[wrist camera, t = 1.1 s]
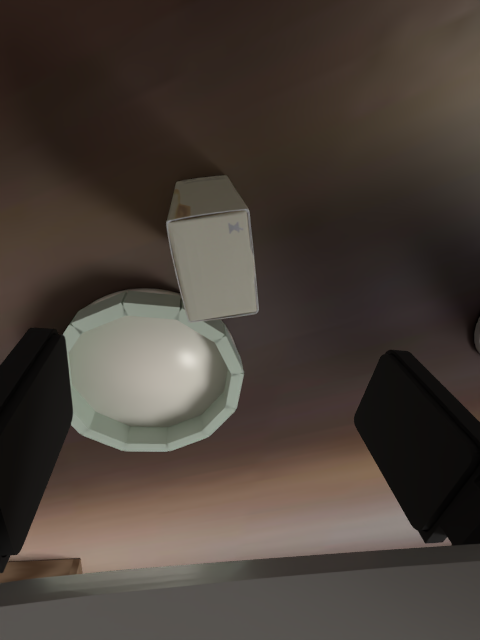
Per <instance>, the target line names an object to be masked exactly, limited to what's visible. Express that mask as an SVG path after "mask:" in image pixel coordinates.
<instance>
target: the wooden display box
mask: <svg viewBox="0 0 480 640" xmlns="http://www.w3.org/2000/svg"><path fill="white" fill-rule="evenodd" d="M75 574H82V566H81V559H63V560H41V561H19V562H7V565H6V567H5V570H4V572H3V573H0V583H5V582H12V581H19V580H26V579H33V578H44V577H54V576H64V575H75Z"/></svg>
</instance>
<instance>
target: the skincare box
mask: <svg viewBox="0 0 480 640" xmlns="http://www.w3.org/2000/svg"><path fill="white" fill-rule="evenodd" d="M166 228H167V234H168V240H169V245H170V251H171V255H172V260H173V265H174V269H175V273H176V277H177V281H178V285H179V289H180V293H181V297H182V301H183V304H184V308H185V312H186V315H187V319H188V322H190V323H193V322H200V321H209V320H218V319H225V318H232V317H240V316H247V315H253V314H256V313H258V311H259V306H258V293H257V282H256V271H255V261H254V251H253V241H252V231H251V223H250V212H249V209H248V207H247V206H246V204H245V203H244V201H243V200H242V198H241V196H240V195H239V194H238V192H237V191H236V189H235V187H234V186H233V184H232V183H231V181H230V180H229V178H228V177H227V175H222V176H212V177H203V178H195V179H189V180H183V181H178V182H176V185H175V189H174V193H173V197H172V202H171V206H170V210H169V214H168V218H167V221H166Z"/></svg>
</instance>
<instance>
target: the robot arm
mask: <svg viewBox="0 0 480 640" xmlns="http://www.w3.org/2000/svg"><path fill="white" fill-rule="evenodd" d="M474 342H475V346H476V349H477V350H478V352H479V354H480V317H479V319H478V322H477V324H476V328H475V333H474ZM72 418H73V405H72V395H71V386H70V376H69V367H68V358H67V348H66V340H65V336H64V335H58V332H57V330H56V329H45V328H30V329H29V330H28V331H27V332H26V334H25V335H24V336H23V337H22V339H21V340H20V341H19V342H18V344H17V345H16V346H15V347H14V349H13V350H12V351H11V352H10V354H9V355H8V356H7V358H6V359H5V360H4V361H3V363H2V364H1V365H0V573H3V572H4V570H5V567H6V565H7V562H8V560H9V558H10V555H17V554H18V553H19V552H20V550H21V549H22V546H23V544H24V542H25V539H26V537H27V534H28V531H29V529H30V526H31V524H32V521H33V519H34V516H35V514H36V511H37V509H38V506H39V504H40V501H41V499H42V496H43V494H44V491H45V488H46V486H47V483H48V481H49V478H50V476H51V473H52V471H53V468H54V466H55V463H56V461H57V458H58V456H59V453H60V451H61V448H62V445H63V443H64V440H65V438H66V435H67V433H68V430H69V428H70V425H71V422H72ZM354 423H355V426H356V428H357V430H358V432H359V434H360V435H361V437H362V439H363V441H364V442H365V444H366V446H367V448H368V450H369V451H370V453H371V455H372V457H373V458H374V460H375V462H376V464H377V465H378V467H379V469H380V471H381V472H382V474H383V476H384V478H385V480H386V481H387V483H388V485H389V487H390V488H391V490H392V492H393V494H394V495H395V497H396V499H397V501H398V502H399V504H400V506H401V508H402V510H403V511H404V513H405V515H406V517H407V518H408V520H409V522H410V524H411V525H412V526H413V528H415V529H416V530H418V532H419V533H420V535H421V537H422V539H423V540H424V542H425V543H439V542H443V541H444V540H445V539H446V538H447V537H448V538H449V540H450V542H451V543H452V545H451V546H440V547H424V548H409V549H394V550H380V551H366V552H352V553H338V554H324V555H310V556H296V557H283V558H269V559H255V560H242V561H230V562H217V563H204V564H191V565H178V566H166V567H153V568H140V569H127V570H116V571H106V572H96V573H85V574H75V575H64V576H54V577H44V578H33V579H26V580H19V581H12V582H5V583H0V640H480V422H479V421H478V420H477V419H476V418H475V417H474V416H473V415H472V414H471V413H470V412H469V411H468V410H467V409H466V408H465V407H464V406H463V405H462V404H461V403H460V402H459V401H458V400H457V399H456V398H455V397H454V396H453V395H452V394H451V393H450V392H449V391H448V390H447V389H446V388H445V387H444V386H443V385H442V384H441V383H440V382H439V381H438V380H437V379H436V378H435V377H434V376H433V375H432V374H431V373H430V372H429V371H428V370H427V369H426V368H425V367H424V366H423V365H422V364H421V363H420V362H419V361H418V360H417V359H416V358H415V357H414V356H413V355H412V354H411V353H410V352H408V351H399V350H389V351H387V352H386V353H385V354H384V355H382V356H381V357H380V359H379V362H378V364H377V366H376V368H375V371H374V373H373V375H372V377H371V380H370V382H369V384H368V386H367V389H366V391H365V393H364V395H363V398H362V400H361V402H360V404H359V407H358V409H357V411H356V413H355V416H354Z"/></svg>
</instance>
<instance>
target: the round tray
mask: <svg viewBox="0 0 480 640" xmlns="http://www.w3.org/2000/svg"><path fill="white" fill-rule="evenodd" d="M63 335H64V336H65V340H66V348H67V358H68V367H69V376H70V386H71V395H72V405H73V418H72V422H71V425H72V426H73V427H74V428H75V429H76V430H77V431H78V432H79V434H81V433H82V435H83V436H85V437H88V438H90V439H93V440H96V441H98V442H101V443H103V444H106V445H109V446H111V447H114V448H116V449H119V450H122V451H123V450H124V451H155V452H168V450H169V451H172V450H175V449H177V448H180V447H183V446H186V445H188V444H191V443H194V442H197V441H199V440H202V439H205V438H208V436H211V434H212V433H213V432H214V431H215V430H216V429H217V428H218V427H219V426H220V425H221V424H222V423H223V422H224V421H225V420H226V419H227V418H228V417H229V416H230V415H231V414H232V413H233V412H234V411H235V410H236V409H237V405H238V400H239V395H240V390H241V385H242V381H243V376H244V372H243V367H242V362H241V357H240V355H239V353H238V351H237V349H236V346H235V343H234V340H233V338H232V335H231V334H230V332H229V330H228V328H227V327H226V325H225V324H224V323H223V321H222V320H221V319H218V320H209V321H200V322H193V323H190V322H188V319H187V315H186V312H185V308H184V304H183V301H182V297H181V294H180V293H176V292H172V291H169V290H162V289H155V288H137V289H128V290H123V291H118V292H115V293H112V294H109V295H106V296H104V297H102V298H100V299H98V300H95V301H94V302H92V303H91V304H89V305H88V306H86V307H85V308H83V309H81V310H79V311H78V312H77V314H76V315H75V317H74V318H73V320H72V321H71V323H70V324H69V326H68V327H67V329H66V330H65V332H64V333H63Z"/></svg>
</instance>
